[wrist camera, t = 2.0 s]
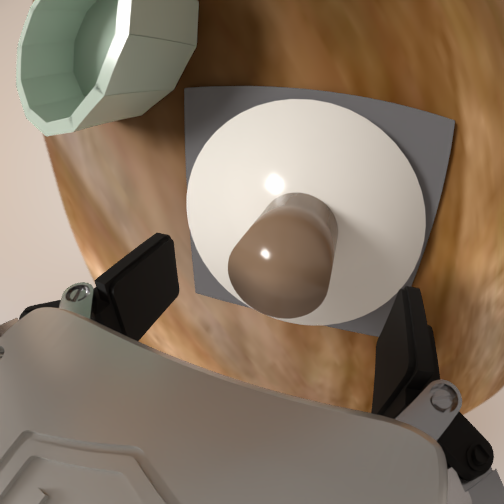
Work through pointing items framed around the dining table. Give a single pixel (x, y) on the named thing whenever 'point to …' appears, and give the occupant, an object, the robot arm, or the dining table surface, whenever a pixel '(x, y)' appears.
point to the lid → (306, 212)
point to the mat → (378, 112)
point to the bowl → (101, 59)
